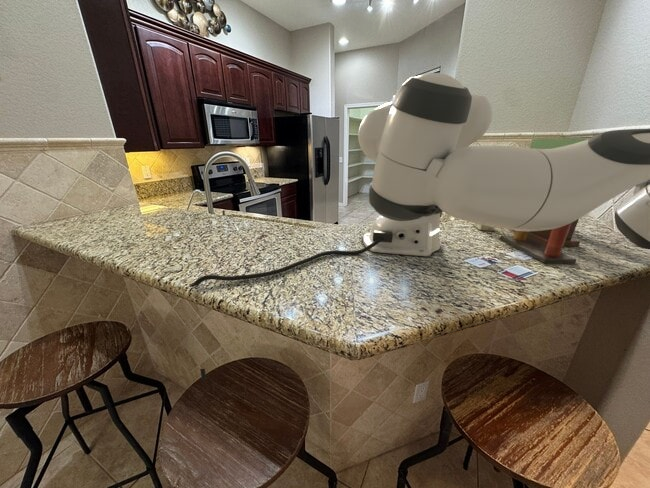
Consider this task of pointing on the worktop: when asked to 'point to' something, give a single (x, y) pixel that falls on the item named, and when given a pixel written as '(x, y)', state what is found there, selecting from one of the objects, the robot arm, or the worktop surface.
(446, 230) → the worktop surface
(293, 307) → the worktop surface
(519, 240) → the rod stand
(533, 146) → the green bar
